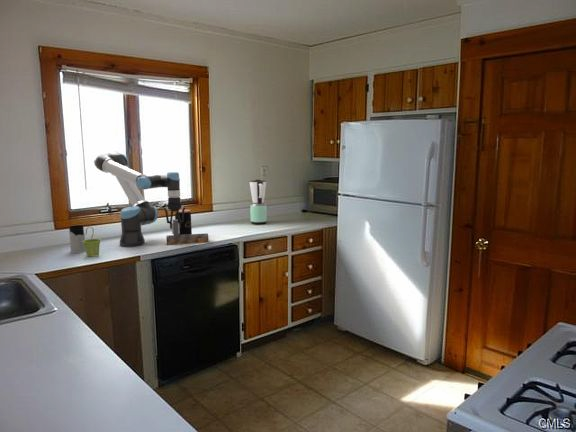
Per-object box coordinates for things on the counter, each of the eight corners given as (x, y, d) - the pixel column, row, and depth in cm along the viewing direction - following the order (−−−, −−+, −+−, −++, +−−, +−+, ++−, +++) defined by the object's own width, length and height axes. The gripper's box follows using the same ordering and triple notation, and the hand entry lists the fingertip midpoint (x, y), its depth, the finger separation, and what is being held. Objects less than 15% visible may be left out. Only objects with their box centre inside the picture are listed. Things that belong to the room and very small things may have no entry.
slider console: (166, 245, 274) (166, 238, 273) (166, 242, 283) (166, 235, 282) (208, 242, 280) (208, 235, 279) (207, 239, 289) (207, 233, 288)
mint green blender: (247, 222, 356) (246, 179, 350) (263, 221, 360) (262, 178, 355) (254, 226, 338) (253, 180, 333) (270, 225, 343) (270, 180, 337)
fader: (173, 238, 276) (172, 220, 275) (173, 237, 281) (172, 219, 280) (178, 238, 277) (177, 220, 276) (178, 236, 282) (177, 219, 280)
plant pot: (94, 258, 242) (93, 242, 241) (80, 257, 245) (78, 241, 244) (105, 254, 251) (104, 239, 250) (91, 253, 254) (90, 238, 252)
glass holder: (67, 251, 258) (65, 226, 256) (91, 247, 269) (89, 223, 266) (73, 253, 252) (71, 228, 250) (98, 249, 263) (96, 225, 261)
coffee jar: (187, 238, 294) (186, 211, 292) (173, 237, 297) (171, 211, 294) (194, 235, 305) (193, 209, 302) (180, 234, 307) (178, 209, 304)
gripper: (160, 198, 270) (162, 235, 273) (187, 197, 274) (189, 233, 277) (161, 196, 277) (163, 233, 281) (187, 195, 281) (188, 231, 284)
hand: (176, 233), depth 279 cm, fingers closed on fader, 3 cm apart
